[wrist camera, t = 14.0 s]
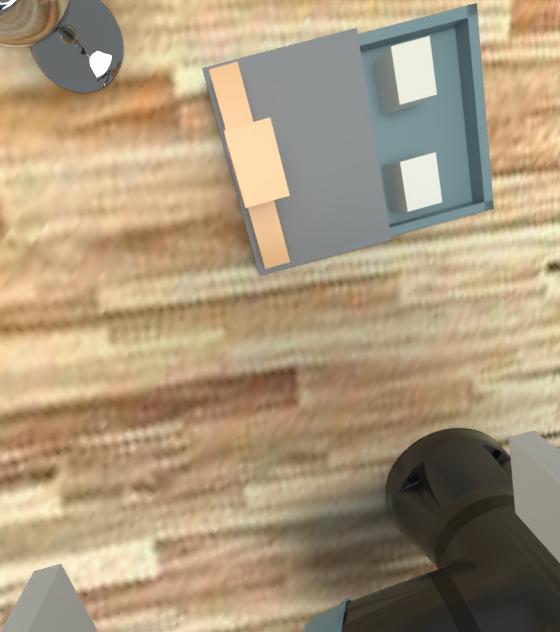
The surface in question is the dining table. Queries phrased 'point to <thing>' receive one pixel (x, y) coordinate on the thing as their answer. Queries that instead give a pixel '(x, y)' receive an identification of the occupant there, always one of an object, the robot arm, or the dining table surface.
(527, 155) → the dining table surface
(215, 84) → the orange t-shaped block
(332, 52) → the grey drawer housing
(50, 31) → the wine glass
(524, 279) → the dining table surface
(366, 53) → the blue-grey flat tray
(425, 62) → the white rectangular block
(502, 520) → the robot arm
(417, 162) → the white cube block
